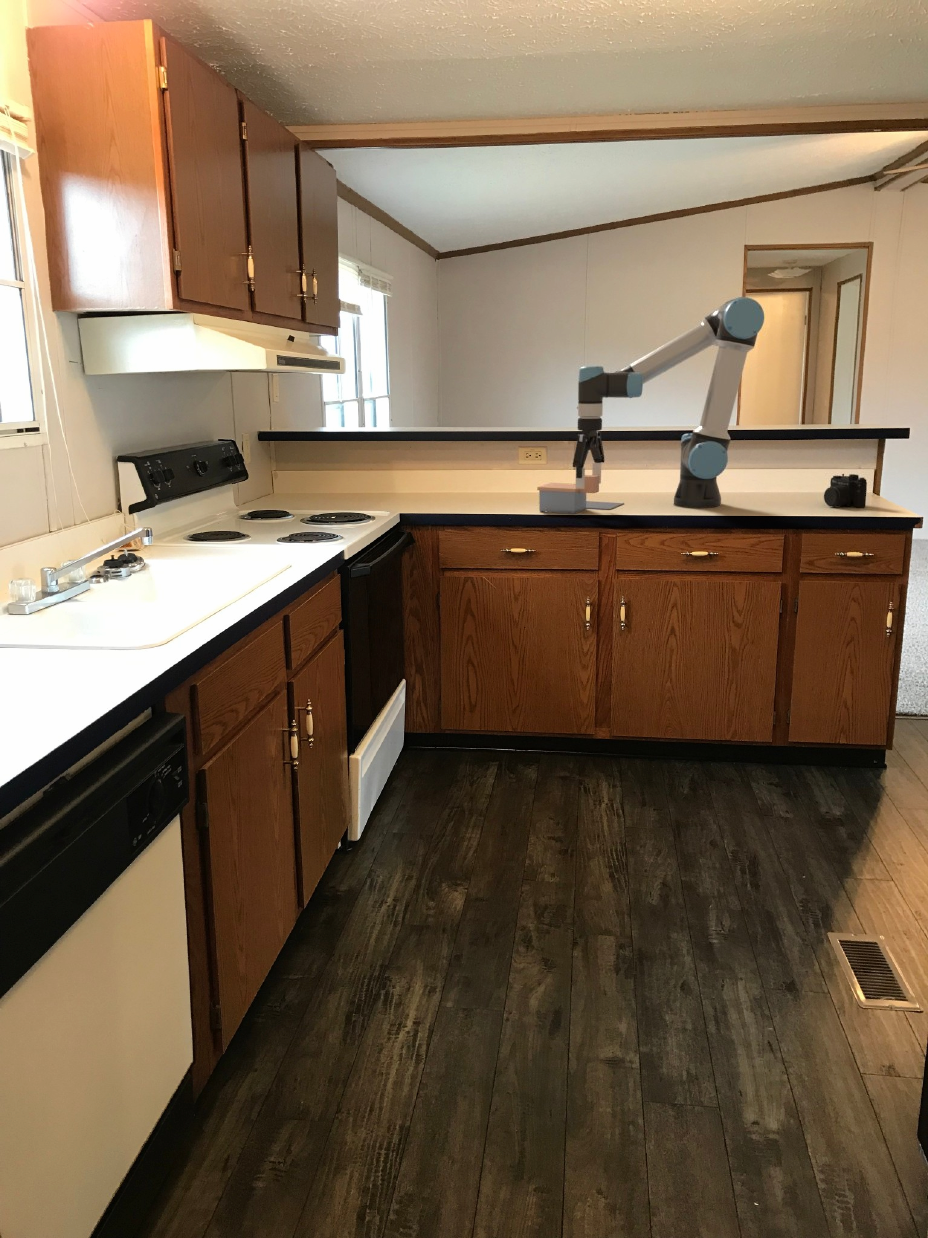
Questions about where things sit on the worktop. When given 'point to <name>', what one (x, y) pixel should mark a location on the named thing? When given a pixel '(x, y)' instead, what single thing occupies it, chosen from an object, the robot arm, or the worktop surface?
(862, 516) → the worktop surface
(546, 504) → the tub
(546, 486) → the lid
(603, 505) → the mat
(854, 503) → the camera
